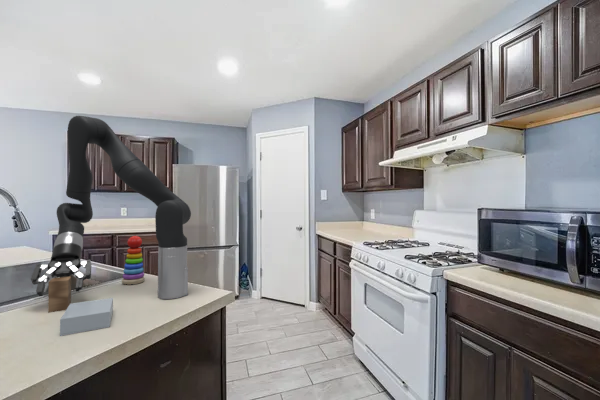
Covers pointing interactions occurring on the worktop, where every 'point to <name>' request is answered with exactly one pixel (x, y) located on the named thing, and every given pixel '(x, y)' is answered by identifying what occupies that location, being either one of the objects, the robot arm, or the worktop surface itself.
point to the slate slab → (86, 316)
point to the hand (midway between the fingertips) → (59, 292)
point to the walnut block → (59, 294)
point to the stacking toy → (133, 262)
